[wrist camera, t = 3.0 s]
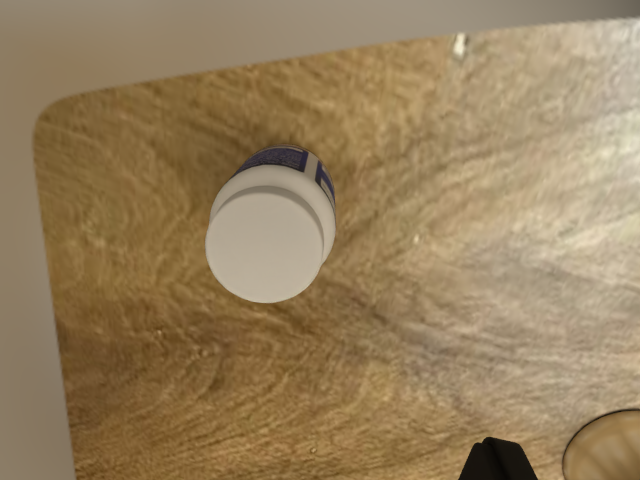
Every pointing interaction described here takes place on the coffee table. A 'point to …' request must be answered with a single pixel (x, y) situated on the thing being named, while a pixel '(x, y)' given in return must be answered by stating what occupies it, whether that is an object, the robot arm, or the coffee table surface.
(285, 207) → the pill bottle
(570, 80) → the coffee table surface
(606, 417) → the hand bell
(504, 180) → the coffee table surface
